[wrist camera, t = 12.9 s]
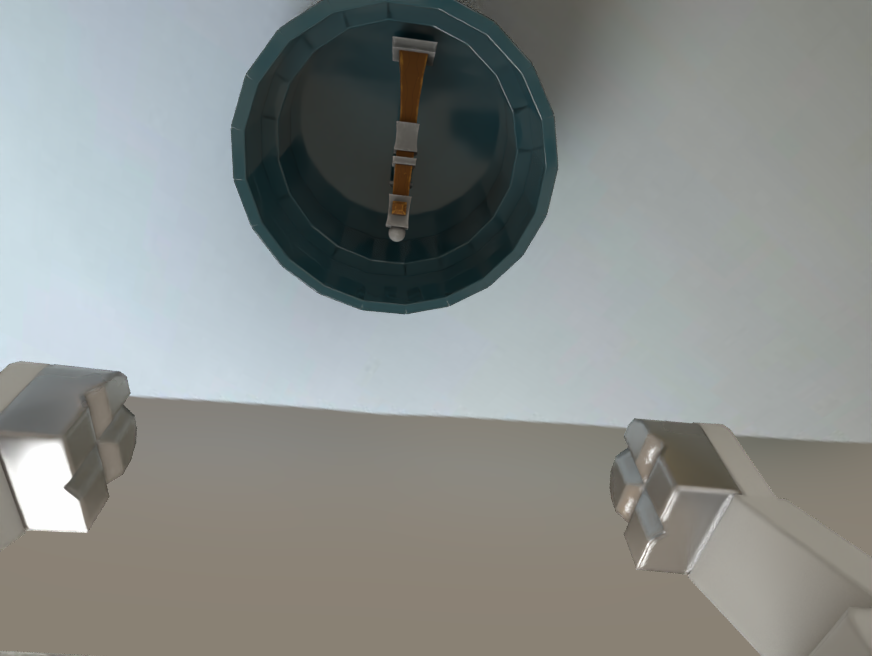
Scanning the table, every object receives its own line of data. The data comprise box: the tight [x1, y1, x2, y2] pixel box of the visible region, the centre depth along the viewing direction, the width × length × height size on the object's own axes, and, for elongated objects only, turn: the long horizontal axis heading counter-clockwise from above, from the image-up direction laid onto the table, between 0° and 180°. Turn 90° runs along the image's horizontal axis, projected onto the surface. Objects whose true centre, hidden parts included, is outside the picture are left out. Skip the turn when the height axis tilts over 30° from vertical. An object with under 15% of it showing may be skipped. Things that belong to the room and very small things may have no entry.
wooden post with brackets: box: [386, 36, 438, 242], centre depth 25 cm, size 2×8×4 cm, turn 173°
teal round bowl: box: [231, 0, 558, 314], centre depth 24 cm, size 12×12×6 cm
